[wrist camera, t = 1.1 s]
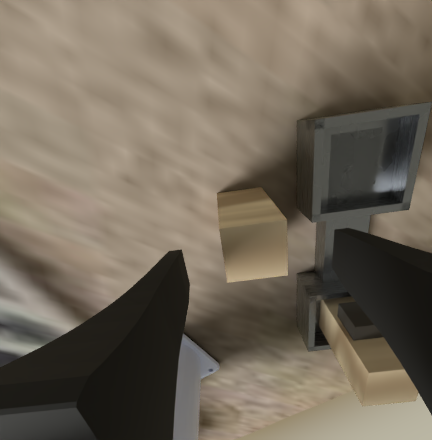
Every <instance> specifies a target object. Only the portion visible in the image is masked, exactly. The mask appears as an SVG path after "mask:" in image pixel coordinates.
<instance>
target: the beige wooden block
mask: <svg viewBox="0 0 432 440" xmlns="http://www.w3.org/2000/svg"><path fill="white" fill-rule="evenodd" d="M217 201H218V216H219V230H220V237H221V243H222V250H223V257H224V263H225V270H226V276H227V283H229V282H237V281H245V280H253V279H261V278H269V277H277V276H286V275H288V250H287V219H286V218H285V217H284V215H283V214H282V213H281V211H280V210H279V209H278V208H277V206H276V205H275V204H274V203H273V201H272V200H271V199H270V198H269V196H268V195H267V194H266V193H265V191H264V190H263V189H262V188H261V187H258V188H251V189H244V190H237V191H230V192H223V193H217Z"/></svg>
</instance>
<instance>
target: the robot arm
mask: <svg viewBox="0 0 432 440" xmlns="http://www.w3.org/2000/svg"><path fill="white" fill-rule="evenodd" d="M332 268H333V270H334V271H335V273H336V275H337V277H338V278H339V280H340V282H341V283H342V285H343V286H344V287H345V289H346V290H347V291H348V293H349V294H350V295H351V296H352V298H353V299H354V300H355V301H356V303H357V304H358V305H359V306H360V308H361V309H362V310H363V311H364V313H365V314H366V315H367V316H368V318H369V319H370V320H371V321H372V323H373V324H374V325H375V326H376V328H377V329H378V330H379V332H380V333H381V334H382V336H383V337H384V338H385V340H386V342H387V343H388V345H389V346H390V348H391V349H392V351H393V352H394V354H395V355H396V357H397V358H398V360H399V361H400V363H401V365H402V366H403V368H404V369H405V371H406V373H407V374H408V376H409V377H410V379H411V381H412V382H413V384H414V386H415V387H416V389H417V390H418V392H419V394H420V396H421V397H422V399H423V401H424V402H425V404H426V406H427V408H428V409H429V411H430V413H431V415H432V253H429V252H425V251H422V250H418V249H415V248H411V247H408V246H405V245H402V244H399V243H396V242H393V241H390V240H387V239H384V238H381V237H378V236H374V235H371V234H368V233H365V232H362V231H359V230H355V229H351V228H343V229H335V230H334V243H333V256H332ZM189 288H190V283H189V279H188V275H187V270H186V266H185V262H184V258H183V253H182V250H175V251H169V252H168V253H167V254H166V255H165V256H164V257H163V258H162V259H161V260H160V261H159V262H158V263H157V264H156V265H155V266H154V267H153V268H152V269H151V270H150V271H149V272H148V273H147V274H146V275H145V276H144V277H143V278H141V279H140V280H139V281H138V282H137V283H136V284H135V285H134V286H133V287H132V288H130V289H129V290H128V291H127V292H126V293H125V294H123V295H122V296H121V297H120V298H118V299H117V300H116V301H114V302H113V303H112V304H110V305H109V306H108V307H106V308H105V309H104V310H102V311H101V312H99V313H98V314H96V315H95V316H93V317H92V318H90V319H89V320H87V321H86V322H84V323H83V324H81V325H79V326H78V327H76V328H74V329H73V330H71V331H69V332H68V333H66V334H64V335H62V336H61V337H59V338H57V339H55V340H53V341H52V342H50V343H48V344H46V345H44V346H42V347H41V348H39V349H37V350H35V351H33V352H31V353H29V354H27V355H25V356H23V357H21V358H19V359H17V360H15V361H13V362H11V363H9V364H7V365H4V366H2V367H0V440H198V429H199V407H200V385H201V379H202V378H204V377H206V376H208V375H210V374H212V373H214V372H215V371H217V370H219V363H218V362H217V361H215V360H214V359H213V358H212V357H211V356H210V355H208V354H207V353H206V352H205V351H204V350H202V349H201V348H200V347H199V346H198V345H197V344H195V343H194V342H193V341H192V340H191V339H189V338H188V337H187V336H186V335H185V334H183V332H184V326H185V321H186V315H187V310H188V304H189Z"/></svg>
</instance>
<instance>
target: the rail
mask: <svg viewBox="0 0 432 440" xmlns="http://www.w3.org/2000/svg"><path fill="white" fill-rule="evenodd" d="M431 104H432V102H427V103H418V104H408V105H399V106H391V107H384V108H378V109H371V110H365V111H358V112H352V113H345V114H339V115H332V116H326V117H319V118H312V119H306V120H299V121H297V209H298V210H299V211H301V212H302V213H303V214H304V215H305V216H306V217H307V218H308V219H309V220H310V221H311V222H312V223H313V222H317V226H316V251H315V272H307V273H299V274H297V327H298V329H299V331H300V334H301V336H302V338H303V341H304V343H305V345H306V348H307V350H308V351H317V350H326V349H331V347H330V345H329V343H328V341H327V339H326V338H325V336H324V334H323V332H322V330H321V328H320V326H319V320H320V302H321V300H326V299H334V298H342V297H351V295H350V294H349V293H348V291H347V290H346V289H345V287H344V286H343V285H342V283H341V282H340V280H339V278H338V277H337V275H336V273H335V271H334V270H333V268H332V256H333V243H334V230H335V229H343V228H351V229H355V230H359V231H362V232H365V233H368V230H369V223H370V216H371V215H373V214H380V213H388V212H395V211H403V210H409V208H410V203H411V198H412V194H413V189H414V184H415V180H416V175H417V170H418V165H419V161H420V156H421V151H422V147H423V142H424V137H425V133H426V128H427V123H428V118H429V114H430V109H431Z"/></svg>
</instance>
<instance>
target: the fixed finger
mask: <svg viewBox="0 0 432 440" xmlns="http://www.w3.org/2000/svg"><path fill="white" fill-rule="evenodd" d="M319 326H320V328H321V330H322V332H323V334H324V336H325V338H326V339H327V341H328V343H329V345H330V347H331V349H332V351H333V353H334V354H335V356H336V358H337V360H338V362H339V364H340V366H341V367H342V369H343V371H344V373H345V375H346V377H347V379H348V381H349V382H350V384H351V386H352V388H353V390H354V391H355V394H356V396H357V397H358V399H359V401H360V403H361V405H362V406H371V405H381V404H391V403H401V402H411V401H416V398H417V395H418V393H419V392H418V390H417V389H416V387H415V386H414V384H413V382H412V381H411V379H410V377H409V376H408V374H407V373H406V371H405V369H404V368H403V366H402V365H401V363H400V361H399V360H398V358H397V357H396V355H395V354H394V352H393V351H392V349H391V348H390V346H389V345H388V343H387V342H386V340H385V338H384V337H383V336H382V334H381V333H380V332H379V330H378V329H377V328H376V326H375V325H374V324H373V323H372V321H371V320H370V319H369V318H368V316H367V315H366V314H365V313H364V311H363V310H362V309H361V308H360V306H359V305H358V304H357V303H356V301H355V300H354V299H353V298H352V296H351V297H342V298H334V299H326V300H321V302H320V320H319Z"/></svg>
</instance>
